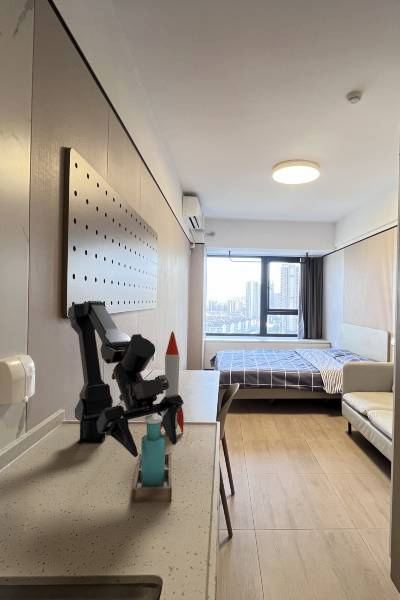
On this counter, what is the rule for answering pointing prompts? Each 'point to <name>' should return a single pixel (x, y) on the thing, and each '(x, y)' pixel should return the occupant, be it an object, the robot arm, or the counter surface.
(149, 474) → the bottle
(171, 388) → the toy rocket
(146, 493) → the caddy
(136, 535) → the counter surface
